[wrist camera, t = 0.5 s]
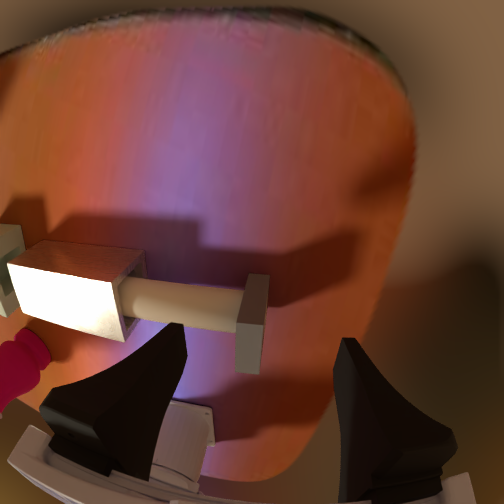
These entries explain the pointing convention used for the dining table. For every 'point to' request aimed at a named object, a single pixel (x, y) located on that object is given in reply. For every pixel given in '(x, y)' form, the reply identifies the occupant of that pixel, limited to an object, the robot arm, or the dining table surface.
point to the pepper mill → (21, 365)
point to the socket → (4, 250)
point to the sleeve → (77, 285)
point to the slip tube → (205, 310)
